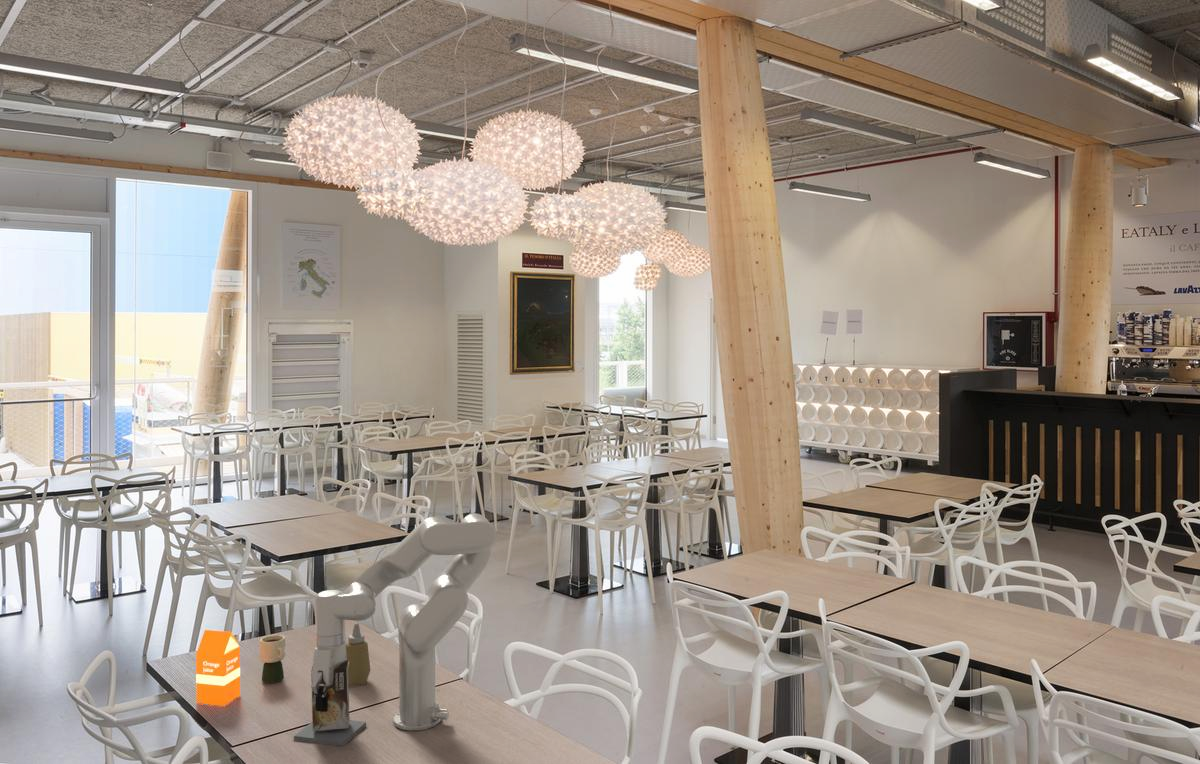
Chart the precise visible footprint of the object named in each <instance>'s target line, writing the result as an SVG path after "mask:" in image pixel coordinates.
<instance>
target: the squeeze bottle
mask: <svg viewBox="0 0 1200 764" xmlns="http://www.w3.org/2000/svg"><path fill="white" fill-rule="evenodd" d="M345 645H346V655H347V660H348V661H349V667H348V686H349V687H357V686H363V685H365V684H366V683H367V681H368V679H369V675H370V673H371V665H370V653H369V646H368V645H369V644H368V642H367V641H365V634H363V633H361V629H360V625H359V623H358V622H356V623H354V625H353V628H352V633H351V634H349V635H348V642H346V643H345Z"/></svg>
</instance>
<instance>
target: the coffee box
mask: <svg viewBox="0 0 1200 764" xmlns="http://www.w3.org/2000/svg"><path fill="white" fill-rule="evenodd" d="M312 670H313V665H312V666H311V673H310V674H311V678H310V679H311V683H312ZM320 684H326V682H324V679H323V678H322V680H321V682H320ZM349 687H350V685H348V660H346V661H345V662H344V663H343V664H341V665H340V666H339V667H337V668H336V669H334V679H333V684H332V685H331V686H329V687H328V691H327V694H326V696H328V711H327V712H320V711H316V699H315V696H314V693H313V690H312V689H311V712H312V713H311V715H312V716H311V717H312V721H311V722H312V723H313V731H322V730H333V729H344V728H348V727H349V721H350V720H351V718H350V700H349V699H350V696H349V695H350V693H349V690H350V689H349ZM320 689H321V690H322V691H323V690H324V687H320Z"/></svg>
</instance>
